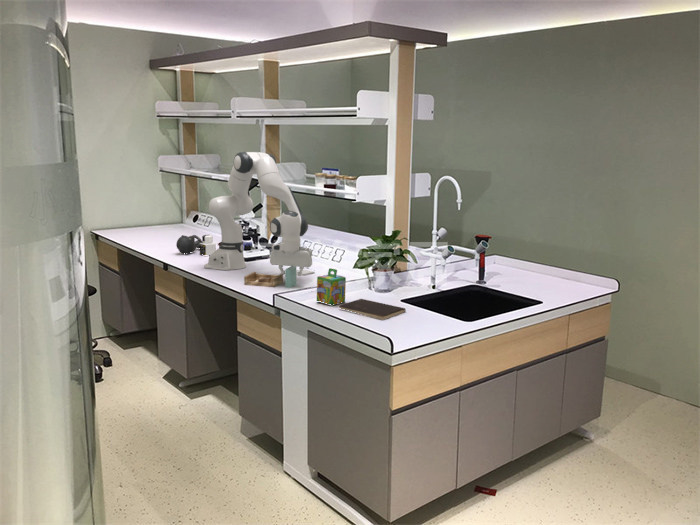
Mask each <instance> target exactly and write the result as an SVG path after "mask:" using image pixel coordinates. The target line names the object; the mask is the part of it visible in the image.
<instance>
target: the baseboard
mask: <svg viewBox="0 0 700 525" xmlns="http://www.w3.org/2000/svg"><path fill="white" fill-rule="evenodd" d="M300 270H301V269H300V268H299V269H296V276H297V272H299V271H300ZM314 274H315V270H314V269H313V271H312V269H310V267H306V269H303V271H302V275H301V277H302V276H309V275H314Z"/></svg>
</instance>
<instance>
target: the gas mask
mask: <svg viewBox="0 0 700 525" xmlns="http://www.w3.org/2000/svg"><path fill="white" fill-rule="evenodd" d="M200 243H203V242H202V239H201V237H199V236H198V235H196V234H193V235H190V236H187V235H184V234H183V235H181V236H180V237H179V238H178V239H177V240H176V249H177V251H178V252H179V253H181V254H182V253H183V254H182V255H184V253H185V254H186V253H190V252H193V253H194V252H196V250H197V249H199V248H200Z"/></svg>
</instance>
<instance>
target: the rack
mask: <svg viewBox="0 0 700 525" xmlns="http://www.w3.org/2000/svg"><path fill="white" fill-rule="evenodd" d="M260 277H268V278H271V283H264V282H254V281H256V280H258V279H259V278H260ZM243 280H244V282H243V284H244V285H245V286H254V287H268V288H275V287H277V286H279V285H281V284H283V282H284V275H281V273H279V274H277V275H276V274H266V273H257V272H256V271H253V272H251V273H249V274H247V275H244V278H243Z"/></svg>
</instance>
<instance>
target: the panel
mask: <svg viewBox="0 0 700 525" xmlns="http://www.w3.org/2000/svg"><path fill="white" fill-rule="evenodd" d="M296 270H297V267H296V266H288V267H287V268H285V269H284V271H285V281H284V282H285V288H286V289H287V288H291V289H292V288H293V287H294V286H297V275H296Z"/></svg>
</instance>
